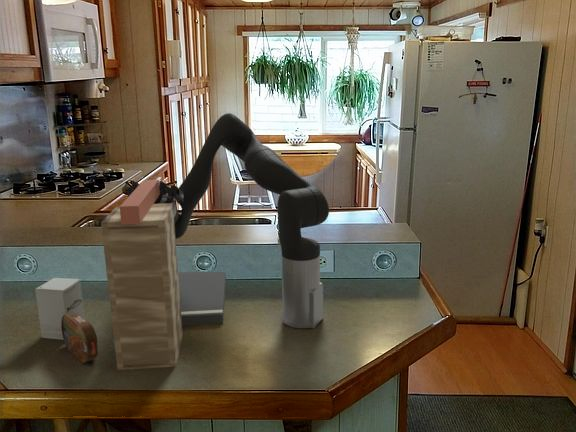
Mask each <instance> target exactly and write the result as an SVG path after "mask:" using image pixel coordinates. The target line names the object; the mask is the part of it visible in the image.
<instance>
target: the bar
mask: <svg viewBox="0 0 576 432" xmlns="http://www.w3.org/2000/svg"><path fill="white" fill-rule="evenodd" d="M159 181H160V179H144V180H142V182H141V183H139V186H138V187H137V188H136V189H135V190H134V191H133V192H132V194H131V195H130V196H129V197H128V196H127V198H125V200H124V201H123V202H122V203H121V204H120V205H121V206H120V216H121V224H140V223H141V222H142V220H143V219H144V217H145V216H146V214H147V213H148V211H149V210H150V208H151V207H152V205H153V204H154V202H155V201H156V199H157V198H158V196H159V195H160V190H159Z"/></svg>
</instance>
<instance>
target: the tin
mask: <svg viewBox="0 0 576 432" xmlns="http://www.w3.org/2000/svg"><path fill="white" fill-rule="evenodd" d="M61 328H62V335H63V339H64V340H63V343H64V345H65V347H66V348H67V350H68V351H69V352H70V353H71V354H72V355H73V356H74V357H76V359H77V360H78V361H79V362H81V363H83V364H85V363H87V362H90V361H93V360H96V358H97V357H98V354H99V352H98V336H97V333H96V330H95V329H94V326H93V325H92V324H91V323H90V322H89V321H88V320H86V318H85V319H84V318H82V317H81V316H80V315H79V314H77V313H72V314H68V315H63V317H62V321H61Z"/></svg>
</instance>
